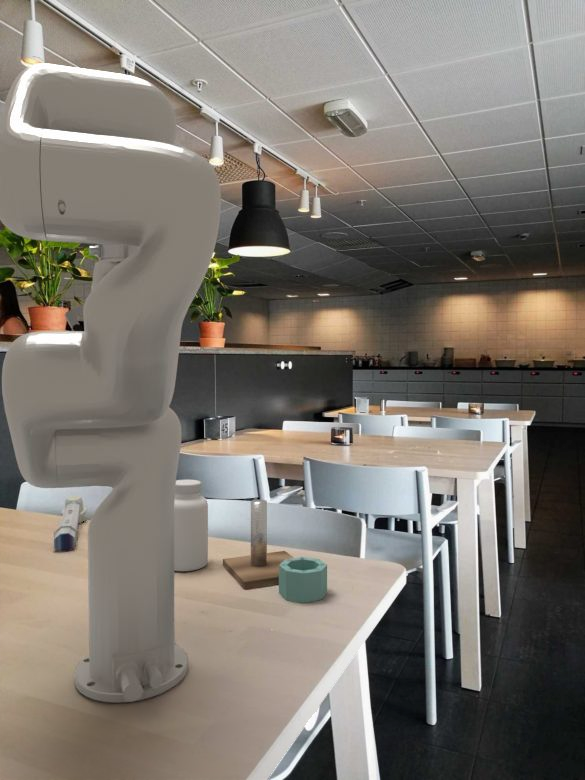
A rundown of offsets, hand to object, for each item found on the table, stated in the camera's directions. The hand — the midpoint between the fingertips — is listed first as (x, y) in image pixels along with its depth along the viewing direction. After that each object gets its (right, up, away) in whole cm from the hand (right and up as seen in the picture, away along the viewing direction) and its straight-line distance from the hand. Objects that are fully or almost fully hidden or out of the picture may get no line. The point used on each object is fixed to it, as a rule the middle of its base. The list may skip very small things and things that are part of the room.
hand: (126, 370), depth 88 cm
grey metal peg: (+19, -33, +13) cm, 41 cm away
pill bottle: (+6, -35, +16) cm, 39 cm away
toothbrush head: (-22, -34, +35) cm, 54 cm away
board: (+21, -35, +12) cm, 42 cm away
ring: (+27, -35, +3) cm, 44 cm away
